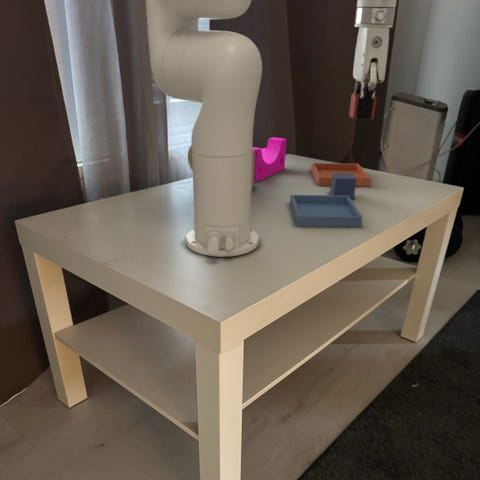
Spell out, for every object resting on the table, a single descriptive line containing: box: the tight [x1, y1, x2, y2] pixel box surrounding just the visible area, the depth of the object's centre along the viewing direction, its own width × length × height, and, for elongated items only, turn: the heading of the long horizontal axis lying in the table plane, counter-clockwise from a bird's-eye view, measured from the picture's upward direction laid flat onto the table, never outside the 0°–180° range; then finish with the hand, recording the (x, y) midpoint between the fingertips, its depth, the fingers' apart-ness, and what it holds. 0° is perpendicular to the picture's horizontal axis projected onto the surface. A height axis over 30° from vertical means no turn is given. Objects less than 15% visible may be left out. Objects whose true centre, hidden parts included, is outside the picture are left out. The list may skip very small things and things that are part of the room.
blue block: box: [329, 173, 357, 200], centre depth 107 cm, size 4×4×4 cm
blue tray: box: [289, 194, 363, 228], centre depth 96 cm, size 13×12×2 cm
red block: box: [348, 93, 378, 120], centre depth 105 cm, size 4×4×4 cm
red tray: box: [310, 162, 371, 187], centre depth 120 cm, size 13×12×2 cm
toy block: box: [252, 136, 287, 183], centre depth 121 cm, size 15×6×8 cm, turn 148°
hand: (361, 115), depth 106 cm, fingers closed on red block, 4 cm apart
